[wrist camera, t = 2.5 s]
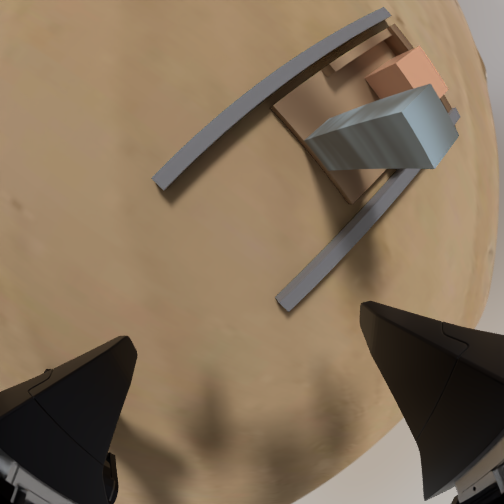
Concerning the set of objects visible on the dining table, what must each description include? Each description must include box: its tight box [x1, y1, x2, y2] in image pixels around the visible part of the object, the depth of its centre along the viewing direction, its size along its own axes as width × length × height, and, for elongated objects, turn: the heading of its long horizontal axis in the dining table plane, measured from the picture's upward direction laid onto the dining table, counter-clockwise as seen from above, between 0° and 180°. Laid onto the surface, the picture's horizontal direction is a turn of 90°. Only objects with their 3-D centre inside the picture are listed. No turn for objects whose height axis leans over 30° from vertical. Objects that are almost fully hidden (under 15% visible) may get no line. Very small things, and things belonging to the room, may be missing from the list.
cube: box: [365, 46, 448, 99], centre depth 18 cm, size 4×4×4 cm
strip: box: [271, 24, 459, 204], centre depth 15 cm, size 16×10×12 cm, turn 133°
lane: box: [152, 7, 460, 312], centre depth 20 cm, size 28×14×1 cm, turn 133°
